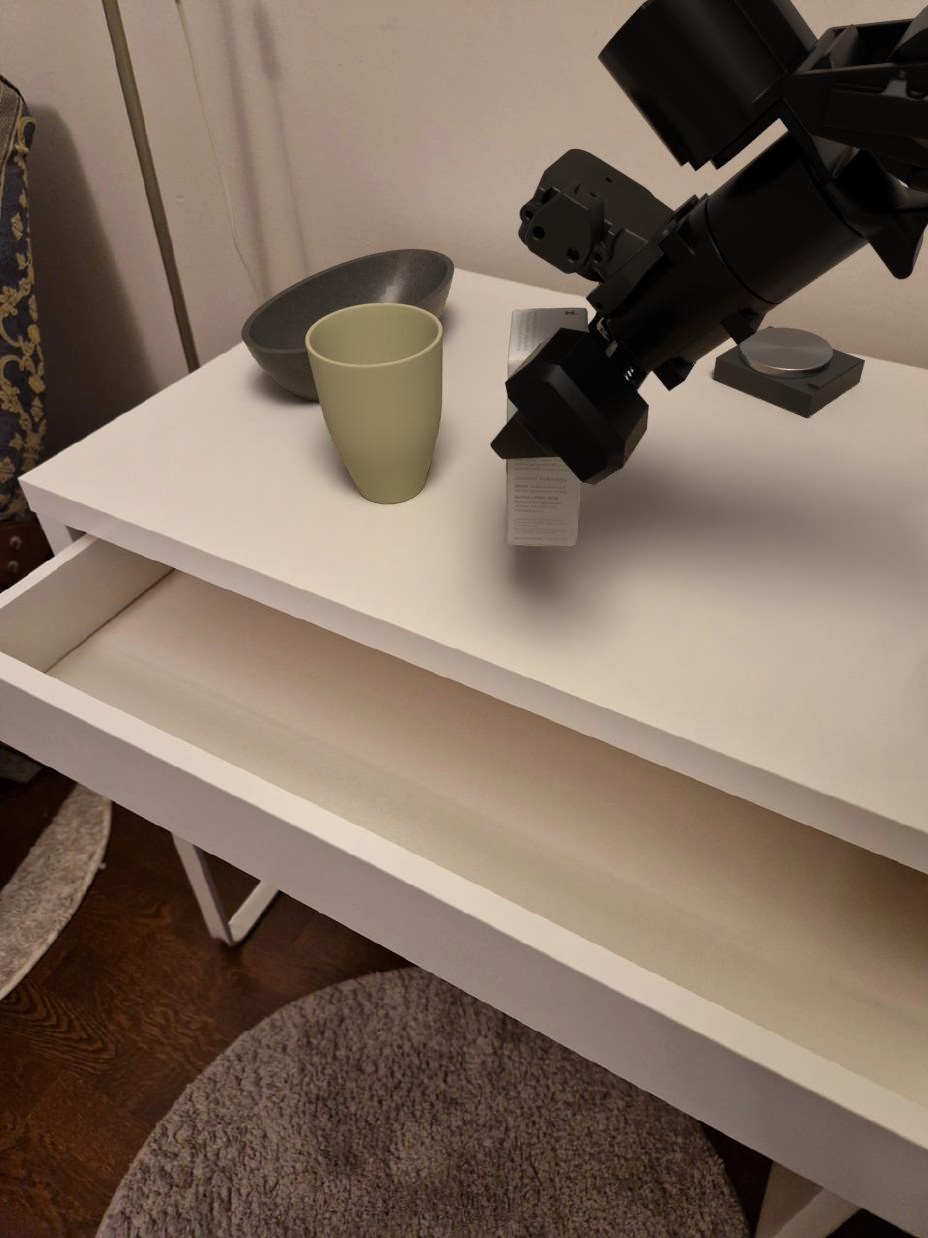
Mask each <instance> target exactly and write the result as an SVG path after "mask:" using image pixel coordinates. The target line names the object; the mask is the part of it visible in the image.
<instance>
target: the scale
mask: <svg viewBox="0 0 928 1238" xmlns="http://www.w3.org/2000/svg"><path fill="white" fill-rule="evenodd" d="M714 362H715V363H714V368H713V369H714V370H713V376H712V380H714V381H717V382H719V383H721V384H724V385H726V386H728V387H731V388H733V389H736V390H738V391H740V392H744V393H745V394H748V395H751V396H752V397H755V398H758V399H761V401H762V400H763V401H765V402H768V403H770V404H772V405H775V406H777V407H780V408H782V409H784V410H787V411H789V412H791V413H795V414H797V415H799V416H802V417H804V418H807V419H808V418H810V417H811V416H812V415H814V414H816V413H817V412H819V411H820V410H822V409H823V408H824V407H826V406H827V405H829V404H830V403H832V402H833V401H834V400H836V399H837V398H839V397H840V396H842V395H843V394H845V393H846V392H847V391H849V390H850V389H852V388H854V387H855V386H857V384H859V383H860V382H861V379H862V375H863V370H864V367H865V363H866V360H865V359H863V358H860V357H857V356H854V355H852V354H850V353H846V352H843V351H842V350H838V349H835V348H833V346H832V345H831V344H830V342H829V341H828V340H827V339H825V338H824V337H822V336H820V335H818V334H816V333H814V332H810V331H808V330H804V329H799V328H793V327H774V326H771V325H769V326H767V327H765V328H761V329H758V330H757V331H756V333H755V334H754V335H752V336H751V337H749V338H748V339H746V340H745V341H743V342H742V343H740V344H739V345H737V344H736V345H735V346H733V347H731V348H730V349H728V350H726V351H724V352H723V353H720V354H719V355H718V356H716V357H715V361H714Z"/></svg>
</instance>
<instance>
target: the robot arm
mask: <svg viewBox="0 0 928 1238" xmlns="http://www.w3.org/2000/svg"><path fill="white" fill-rule="evenodd" d="M597 60H598V61H599V62H600V63H601V65H602V67H604V69H605V70H606V71H607V73H608V74H609V75H610V76H611V78H612V79H613V81H614V82H615V83H616V85H617V86H618V87H619V88H620V90H621V91H622V92H623V94H624V95H625V96H626V98H627V99H628V100H629V102H630V103H631V104H632V105H633V107H634V108H635V109H636V110H637V112H638V113H639V114H640V115H641V117H642V118H643V120H644V121H645V122H646V123H647V125H648V126H649V128H650V129H651V130H652V131H653V133H654V134H655V135H656V137H657V138H658V139H659V140H660V142H661V143H662V144H663V146H664V147H665V149H667V151H668V152H669V154H670V155H671V156H672V158H673V159H674V160H675V161H676V163H677V164H678V165H679V166H680V168H681V167H683V166H685V165H686V164H687V163H688V164H689V165H690V167H691V168H692V169H693V170H694V172H697V171H699V170H700V169H701V168H703V167H704V166H705V165H706V164H707V163H709V162H710V163H711V165H712V167H714V169H715V171H718V170H720V169H722V168H723V167H725V165H727V164H728V163H729V162H731V160H733V159H734V158H735V157H737V156H738V155H739V154H740V153H741V152H742V151H744V150H745V149H746V148H747V147H748V146H749V145H750V144H752V143H753V142H754V141H755V140H756V139H757V138H759V136H760V135H762V134H763V133H764V132H765V131H766V130H767V129H769V127H771V126H772V125H773V124H775V122H777V121H778V120H780V121H781V123H782V124H783V125H784V127H785V128H786V131H785V132H784V133H782V134H781V135H780V136H779V137H777V139H775V140H774V141H773V142H772V143H770V144H769V145H768V146H767V147H766V148H765V149H764V150H762V151H761V152H760V153H759V154H757V155H756V156H755V157H754V158H753V159H752V160H750V161H749V162H748V163H747V164H746V165H745V166H743V167H741V169H739V170H738V171H737V172H736V173H735V174H733V175H732V176H731V177H730V178H728V180H726V181H725V182H724V183H723V184H722V185H720V186H719V187H718V188H717V189H716V190H714V191H713V192H712V193H711V194H710V195H709V194H708V193H707V192H705V193H703V194H702V196H700V197H698V196H697V194H696V193H694V194H693V195H692V196H690V197H689V198H687V200H685V201H684V202H683V203H681V205H680V206H678V207H677V208H675V210H674V209H672V208H671V207H670V206H668V205H667V204H665V203H664V202H663V201H661V200H660V199H658V198H657V197H656V196H655V195H654V194H653V193H652V191H650V189H648V188H646V187H645V186H644V185H643V184H641V183H639V182H638V181H636V180H634V179H633V178H631V177H630V176H628V175H626V174H625V173H624V172H622V171H620V170H619V169H618V168H615V167H614V166H612V165H611V164H610V163H608V162H606V161H604V160H603V159H601V158H600V157H599V156H596V155H595V154H593V153H592V152H589V151H587V150H585V149H581V148H571V149H568V150H567V151H565V152H564V153H563V155H561V156H560V157H559V158H558V159H556V160H555V161H554V162H553V163H552V164H550V165H549V166H548V167H547V168H545V170H544V171H543V173H542V175H541V177H540V179H539V181H538V184H537V187H536V189H535V191H534V194H533V195H532V197H531V198H530V199H529V200H528V201H527V202H526V203H524V205H522V206H521V208H520V209H519V219H520V221H521V223H520V226H519V228H518V229H517V230H518V231H517V236H518V238H519V240H520V241H521V242H522V244H523V245H525V246H526V248H527V249H528V250H529V251H530V252H531V253H532V254H533V255H535V256H537V257H538V258H540V259H541V260H543V261H545V262H546V263H548V264H549V265H551V266H553V267H554V268H556V269H557V270H559V271H560V272H562V273H564V274H565V275H571V274H577V275H578V276H580V277H581V278H584V279H585V280H587V281H590V282H594V283H597V285H596V286H595V287H594V288H593V289H592V290H591V291H590V292H589V293H588V294H587V296H586V297H585V300H586V301H587V302H588V303H589V305H590V306H591V307H592V309H594V311H595V315H594V317H593V318H592V319H591V320H590V321H589V322H588V329H589V333H588V332H586V331H580V330H574V329H568V328H562V327H560V328H559V329H558V330H557V331H555V332H554V333H553V334H552V335H551V336H549V337H548V338H547V339H546V340H545V341H544V342H543V343H542V344H541V343H540V344H539V345H538V346H537V347H536V349H535V350H534V351H533V352H532V353H531V354H530V355H529V356H528V357H527V358H526V359H525V360H524V361H523V362H522V364H521V365H520V366H519V367H518V368H517V369H516V370H515V372H514V373H513V374H512V375H511V376H510V377H509V378H508V377H507V379H506V381H505V382H504V387H505V390H506V391H505V392H506V397H507V396H508V399H509V400H510V401H511V402H512V403H513V405H514V406H515V407H516V408H517V409H518V410H517V411H516V412H515V414H514V415H513V416H512V417H511V419H510V420H509V421H508V422H507V421H506V423H505V424H504V426H503V427H502V429H500V431H499V432H498V433H497V435H496V436H495V437H494V438H493V439H492V441H491V442H490V444H489V445H490V448H491V450H493V452H494V453H495V454H496V455H497V456H498V457H499V458H500V459H502V460H506V459H525V458H553V457H560V458H561V459H562V461H563V462H564V463H565V464H566V465H567V466H568V467H569V469H570V470H571V471H572V472H573V473H574V474H575V475H576V477H577V478H578V479H579V480H580V481H581V484H585V485H590V486H596V485H598V484H600V483H601V482H603V481H604V480H606V479H607V478H608V477H611V476H612V475H614V474H615V473H617V472H619V471H620V470H622V469H623V468H624V467H625V466H626V464H627V462H628V460H630V458H631V456H632V454H633V453H634V451H635V449H636V448H637V447H638V445H639V443H640V442H641V440H642V438H643V437H644V436H645V434H646V432H648V423H649V411H650V405H649V403H648V402H647V401H646V400H645V399H644V398H643V396H642V395H641V394H640V393H639V390H640V388H641V387H642V386H643V384H644V382H645V381H646V379H647V378H648V376H649V375H650V374H651V372H652V373H653V374H654V375H655V377H657V379H658V380H659V381H660V382H661V384H662V385H663V386H664V387H665V388H666V390H667V391H668V392H671V391H672V390H673V389H675V388H676V387H678V386H679V385H681V384H683V383H684V382H685V381H686V380H687V378H688V377H689V375H690V373H691V372H692V370H693V369H694V367H695V365H696V364H697V362H698V361H699V360H701V359H702V358H704V357H705V356H706V355H708V354H709V353H711V352H712V351H714V350H715V349H717V348H718V347H720V346H721V345H722V344H724V343H726V342H727V341H728V340H730V339H732V340H733V342H734V343H735V344H736V346H737V345H739V344H740V343H742V342H743V341H745V340H746V339H748V338H749V337H751V336H752V335H754V334H755V333H756V331H758V330H759V328H760V326H761V324H762V323H763V321H764V319H765V317H766V316H767V314H768V313H769V312H771V311H772V310H774V309H775V308H777V307H778V306H780V305H781V304H782V303H784V302H786V301H787V300H788V299H789V298H791V297H793V296H794V295H796V294H797V293H799V292H800V291H801V290H803V289H804V288H806V287H808V286H809V285H810V284H811V283H814V282H815V281H816V280H817V279H819V278H820V277H822V276H823V275H825V274H826V273H828V272H829V271H830V270H832V269H833V268H835V267H836V266H838V265H840V264H841V263H842V262H844V261H845V260H847V259H848V258H849V257H851V256H852V255H854V254H856V253H857V252H858V251H860V250H861V249H863V248H864V247H866V246H867V245H868V244H869V245H870V246H871V248H872V249H873V251H874V252H875V253H876V255H877V256H878V258H879V259H880V260H881V261H882V263H883V264H884V266H885V267H886V268H887V270H888V271H889V272H890V273H891V275H892V277H894V278H895V279H897V280H899V281H900V280H902V281H903V280H907V279H908V278H909V277H910V276H911V275H912V274H913V271H914V269H915V266H916V263H917V260H918V257H919V254H920V252H921V249H922V246H923V243H924V237H925V235H924V234H925V231H926V229H927V227H928V4H927V5H926V6H924V7H923V8H922V9H921V11H920V12H919V13H917V15H916V16H915V17H910V18H901V19H894V20H893V19H892V20H884V21H876V22H875V21H874V22H865V23H858V24H857V23H855V24H853V23H850V24H848V25H839V26H831V27H829V28H826V30H825V31H824V32H823V33H822V34H821V36H820V37H819V38H818V37H817V36H816V34H815V33H814V31H813V30H812V28H810V26H809V25H808V23H807V21H806V20H805V19H804V18H803V16H802V14H801V13H800V12H799V11H798V9H797V7H796V6H795V5H794V3H793V2H792V0H644V2H643V3H642V4H641V5H639V7H638V8H637V9H636V10H635V11H634V12H633V13H632V15H630V17H628V18H627V20H626V21H625V22H624V23H623V25H621V27H619V28H618V30H617V31H616V32H615V33H614V34H613V35H612V37H610V39H609V41H607V43H606V44H605V45H604V47H603V48H602V50H600V52H599V54H598V56H597ZM902 183H903V184H902ZM905 185H906V186H905Z"/></svg>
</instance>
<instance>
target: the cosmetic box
mask: <svg viewBox="0 0 928 1238" xmlns="http://www.w3.org/2000/svg"><path fill="white" fill-rule="evenodd" d="M588 324H589V311H588V309H587V308H586V307H540V308H539V307H537V308H535V307H534V308H533V307H532V308H522V309H521V308H520V309H513V310H512V311H511V320H510V332H509V342H508V351H507V352H508V353H507V367H506V368H507V379H508V378H509V377H510V376H511V375H512V374H513V373H514V372H515V370H516V369H517V368H518V367H519V366H520V365H521V364H522V362H523V361H524V360H525V359H526V358H527V357H528V356H529V355H530V354H531V353H532V352H533V351H534V350H535V349H536V347H537V346H538V345H539V344H540V343H541V344H542V343H543V342H544V341H545V340H546V339H547V338H548V337H549V336H551V335H552V334H553V333H554V332H555V331H557V330H558V329H559V328H560V327H562V328H568V329H574V330H580V331H586V332H588V333H589V329H588ZM517 410H518V409H517V408H516V407H515V406H514V405H513V403H512V402H511V401H510V400H509V399H508V396H507V395H506V423H507V422H508V421H509V420H510V419H511V417H512V416H513V415H514V414H515V412H516V411H517ZM505 472H506V473H505V475H506V477H505V478H506V479H505V480H506V481H505V485H506V486H505V494H506V495H505V541H506V543H507V544H509V545H514V546H530V547H572V546H575V545H576V544H577V542H578V527H579V517H580V516H579V515H580V500H581V499H580V498H581V484H582V482H581V481H580V480H579V479H578V478H577V477H576V475H575V474H574V473H573V472H572V471H571V470H570V469H569V467H568V466H567V465H566V464H565V463H564V462H563V461H562V459H561V458H560V457H553V458H525V459H505Z"/></svg>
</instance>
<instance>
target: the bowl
mask: <svg viewBox="0 0 928 1238" xmlns="http://www.w3.org/2000/svg"><path fill="white" fill-rule="evenodd" d="M454 273H455V264H454V262H453V260H452V259H451V257H449V256H447V255H446V254H443V253H442V252H439V251H436V250H432V249H431V250H430V249H424V248H423V249H422V248H402V249H392V250H387V251H382V252H375V253H372V254H371V253H370V254H368V255H363V256H360V257H357V258H356V257H355V258H353V259H349V260H347V261H344V262H342V263H339V264H336V265H333V266H331V267H328V268H326V269H323V270H321V271H318V272H316V273H314V274H312V275H309V276H307V277H305V278H304V279H301V280H300V281H298V282H295V283H294V284H292V285H290V286H289V287H287V288H285V289H283V290H282V291H279V292H278V293H277V294H275V295H274V296H272V297H270V298H269V299H267V300H266V301H265V302H263V304H260V306H259V307H257V308H255V310H254V311H253V312H252V313H251V314H250V315H249V316H248V317H247V319H246V321H245V322H244V323H243V326H242V328H241V333H240V335H241V339H242V341H243V343H244V345H245V347H246V348H247V350H248V351H249V353H250V355H251V356H252V358H253V359H254V360H255V362H257V364H258V365H259V367H260V368H261V369H262V370H263V371H264V372H265V373H266V374H267V375H268V376H269V377H270V378H271V379H272V380H273V381H274V382H276V383H277V384H278V385H279V386H281V387H282V388H283V389H285V390H287V391H288V392H289V393H292V394H294V395H296V396H297V397H300V398H302V399H304V400H307V401H314V402H320V401H319V397H318V393H317V389H316V385H315V381H314V377H313V372H312V368H311V364H310V360H309V356H308V352H307V348H306V342H305V338H306V334H307V332H308V330H309V329H310V328H311V326H312V325H313V324H315V323H316V322H317V321H318V320H320V319H321V318H323V317H325V316H327V315H329V314H331V313H333V312H335V311H338V310H341V309H344V308H348V307H352V306H357V305H362V304H371V303H398V304H405V305H411V306H415V307H418V308H421V309H424V310H426V311H428V312H430V313H431V314H433V315H434V316H435V317H436V318H437V319H438V320H439V321H440V318H441V316H442V313H443V311H444V308H445V306H446V303H447V300H448V298H449V294H450V290H451V287H452V283H453V278H454Z"/></svg>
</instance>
